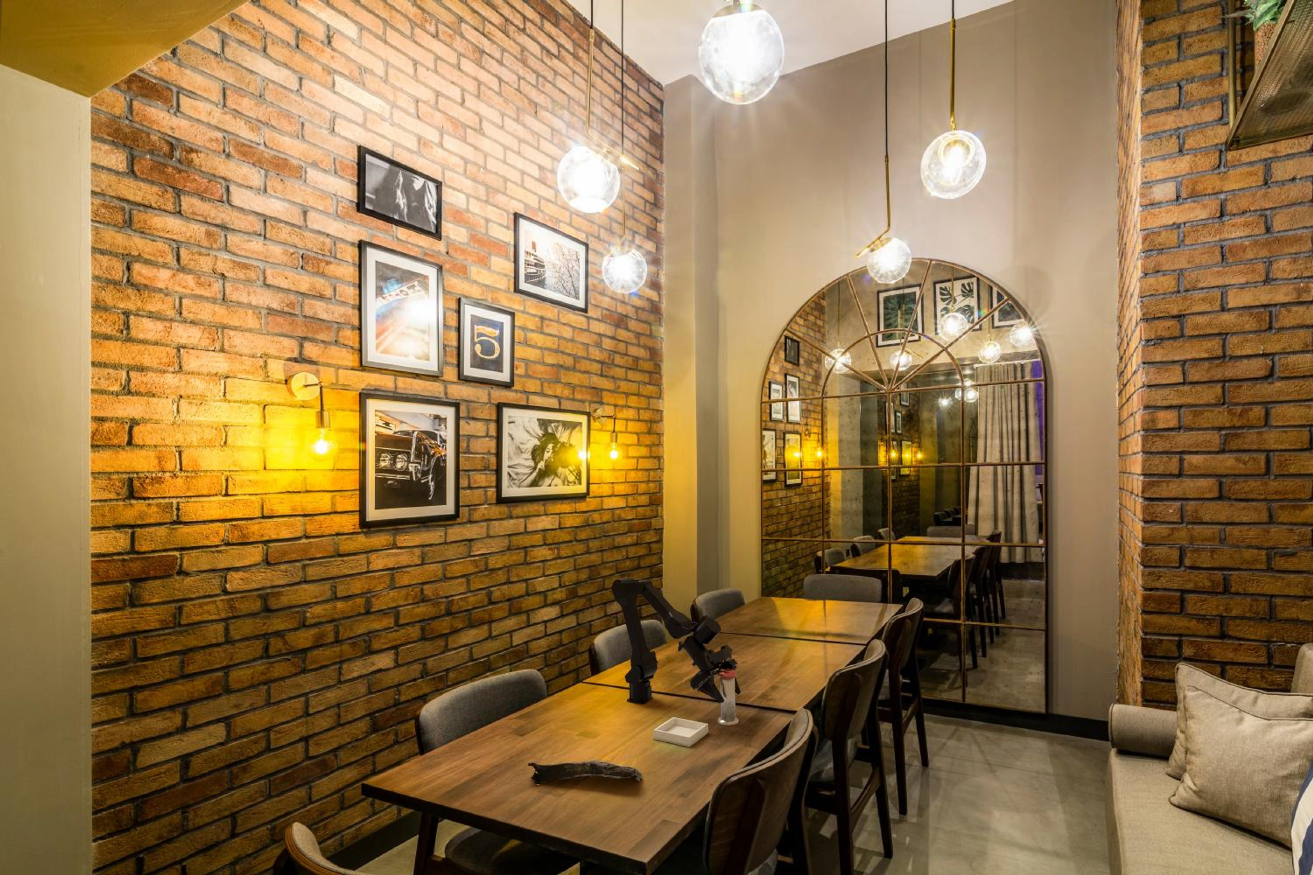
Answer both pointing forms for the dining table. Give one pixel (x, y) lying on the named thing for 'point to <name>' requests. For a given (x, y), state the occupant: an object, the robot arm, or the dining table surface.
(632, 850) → the dining table surface
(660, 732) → the tray
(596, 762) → the tree bark piece
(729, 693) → the stop pin
